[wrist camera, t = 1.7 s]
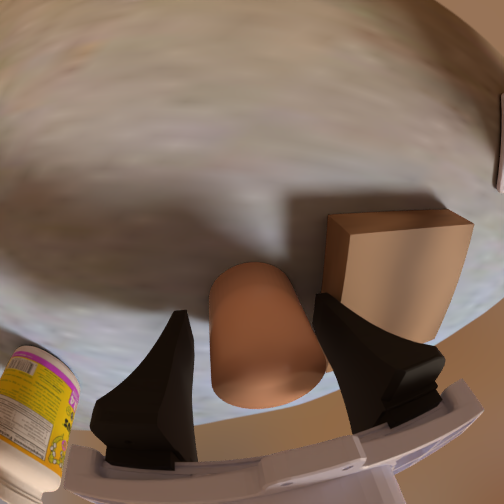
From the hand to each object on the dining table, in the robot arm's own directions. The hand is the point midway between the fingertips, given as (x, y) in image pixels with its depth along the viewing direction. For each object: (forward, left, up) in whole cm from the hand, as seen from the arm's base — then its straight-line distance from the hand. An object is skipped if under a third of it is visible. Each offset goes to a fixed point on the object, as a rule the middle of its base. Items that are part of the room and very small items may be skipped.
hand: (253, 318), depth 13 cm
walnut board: (-9, 0, -2) cm, 9 cm away
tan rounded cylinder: (0, 0, -2) cm, 2 cm away
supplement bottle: (+17, +6, -2) cm, 18 cm away
